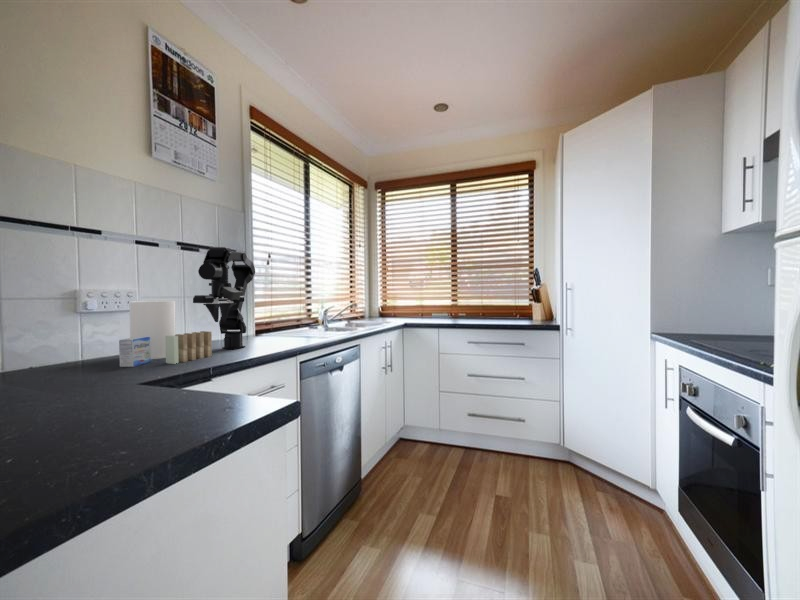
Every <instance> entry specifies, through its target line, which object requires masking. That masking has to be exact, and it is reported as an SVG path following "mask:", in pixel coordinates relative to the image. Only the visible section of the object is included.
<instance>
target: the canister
mask: <svg viewBox="0 0 800 600" xmlns="http://www.w3.org/2000/svg"><path fill="white" fill-rule="evenodd" d="M176 330H177V329H176V300H134V301H133V300H131V301H129V338H134V337H141V336H148V337H150V347H151V360H160V359H166V340H165V336H168V335H172V336H175V335H176V334H177V333H176Z"/></svg>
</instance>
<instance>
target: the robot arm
mask: <svg viewBox="0 0 800 600" xmlns="http://www.w3.org/2000/svg"><path fill="white" fill-rule="evenodd" d="M202 262H203V263H202V264H201V265H200V267H199V268H198V270H197V271H198V275H199V277H200V278H201V279H203V280H208V281H211V282H209V283H208V286H210V287H211V290H210V291H211V293H209V294H200V295H199V294H198V295H194V296H193V298H192V303H193V304H203V306H205V307H206V308H207V310H208V312H210V315H211V317H212V318H213V320H214V322H215V323H218V325H219V332H220V334H221V335H223V334H224V337H223V343H224V344H223V346H222V347H221V349H225V350H237V349H242V348H246V345H243V334H246V333H247V325H246V323H245V321H244V317H243V314H242V308H243V304H244V302H245V296H246V290H247V287H248V284H250V283H251V282H252V281H253V279H254V276H255V275H256V268H255V265H254V263H253V261H252V260H251V259H250V258H249V257H247V255H246V253H245V252H244V251H233V250H232V249H231V248H230V247H228V246H210V247H208V250H207V252H206V254H205V255H204V259H203V261H202ZM230 262H232V264H231V267H230V266H229V265H228V264H229V263H230ZM236 262H238V263H240V262H243V264H236ZM230 268H231V270H232V273H233V276H234V278H235V282H234V287H232V283H231V282H229V269H230ZM219 309H220V311H219ZM219 312H220V313H219ZM219 314H220V315H221V316H220V315H219ZM219 316H220V318H219Z"/></svg>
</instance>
